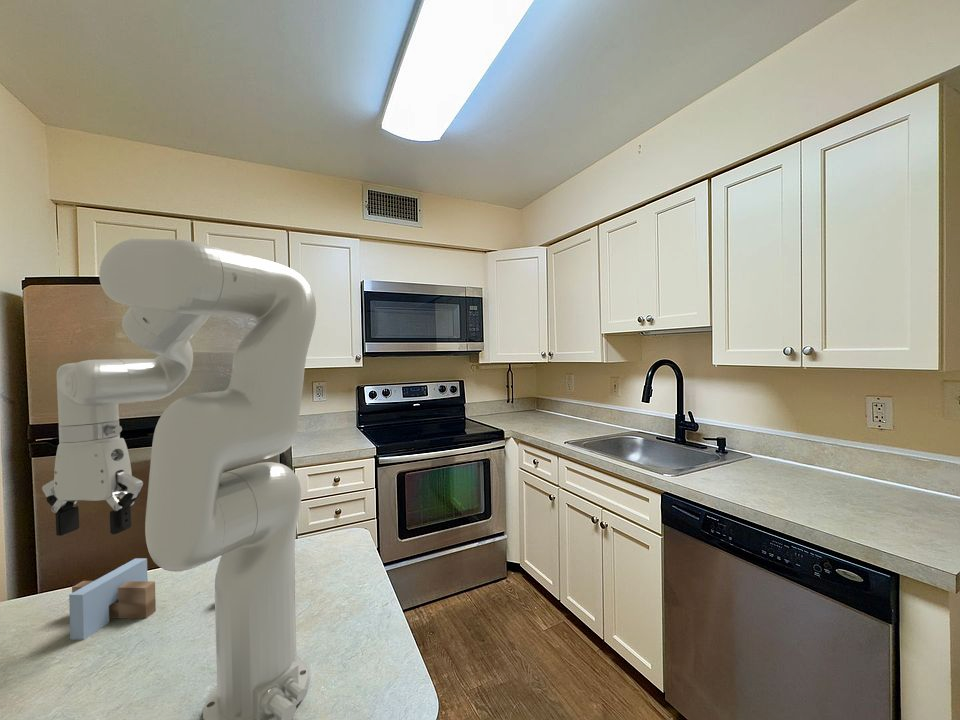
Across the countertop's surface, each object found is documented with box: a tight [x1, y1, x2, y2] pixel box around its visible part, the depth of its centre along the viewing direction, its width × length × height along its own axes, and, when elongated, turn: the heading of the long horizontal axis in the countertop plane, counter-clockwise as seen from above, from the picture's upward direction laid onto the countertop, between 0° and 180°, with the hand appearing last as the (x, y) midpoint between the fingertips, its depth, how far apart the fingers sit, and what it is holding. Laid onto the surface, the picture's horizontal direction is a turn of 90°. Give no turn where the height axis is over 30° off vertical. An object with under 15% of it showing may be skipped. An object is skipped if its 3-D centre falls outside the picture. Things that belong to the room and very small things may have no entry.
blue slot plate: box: [68, 557, 149, 641], centre depth 72 cm, size 12×2×8 cm, turn 177°
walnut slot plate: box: [71, 580, 157, 619], centre depth 73 cm, size 14×2×6 cm, turn 87°
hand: (94, 531), depth 69 cm, fingers open, 9 cm apart
